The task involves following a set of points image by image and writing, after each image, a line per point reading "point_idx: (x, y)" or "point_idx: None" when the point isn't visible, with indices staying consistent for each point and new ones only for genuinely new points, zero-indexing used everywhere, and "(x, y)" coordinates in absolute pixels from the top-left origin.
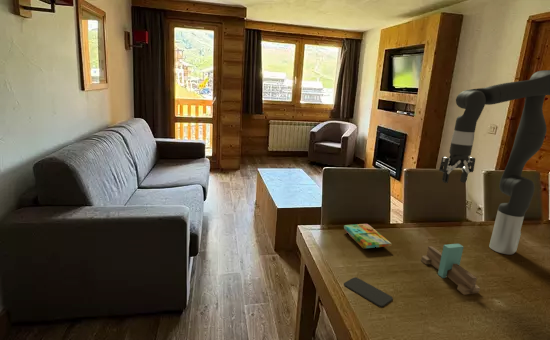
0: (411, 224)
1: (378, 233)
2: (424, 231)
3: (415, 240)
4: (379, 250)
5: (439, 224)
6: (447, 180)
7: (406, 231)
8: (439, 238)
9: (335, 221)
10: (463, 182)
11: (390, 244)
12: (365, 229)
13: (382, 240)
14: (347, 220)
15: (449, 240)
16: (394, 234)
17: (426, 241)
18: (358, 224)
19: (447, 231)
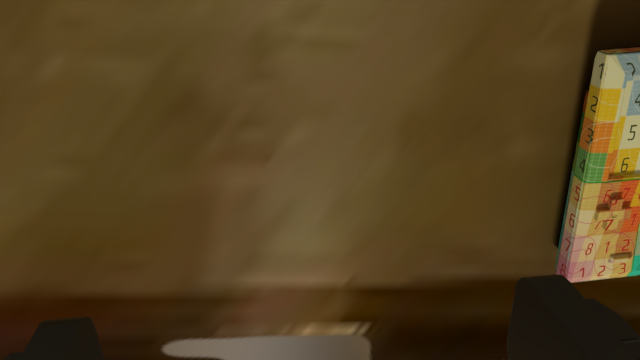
0: (251, 319)
1: (596, 169)
2: (227, 245)
3: (353, 149)
4: None
5: None
6: (570, 305)
7: (334, 247)
8: (189, 164)
9: None
10: (91, 324)
11: (611, 51)
12: (632, 215)
13: (631, 92)
14: None
15: (140, 138)
16: (424, 217)
17: (295, 135)
18: (620, 271)
19: (80, 242)
